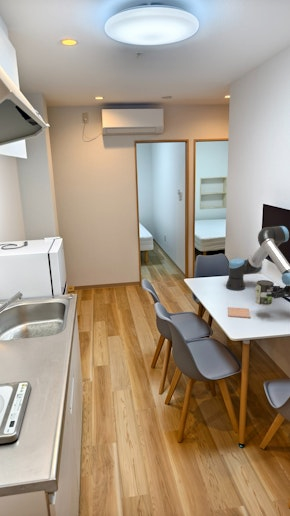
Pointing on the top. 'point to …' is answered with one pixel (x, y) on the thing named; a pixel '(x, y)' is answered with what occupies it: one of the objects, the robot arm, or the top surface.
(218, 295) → the top surface
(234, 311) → the terracotta tile
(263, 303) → the coffee can
